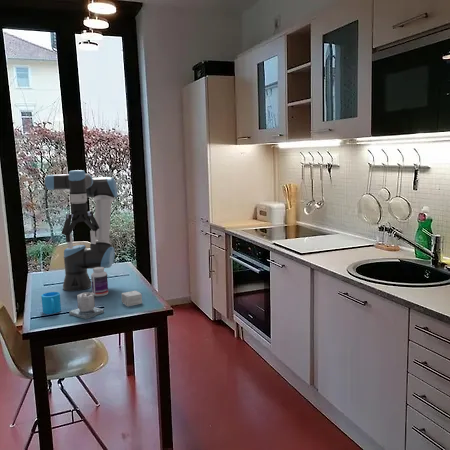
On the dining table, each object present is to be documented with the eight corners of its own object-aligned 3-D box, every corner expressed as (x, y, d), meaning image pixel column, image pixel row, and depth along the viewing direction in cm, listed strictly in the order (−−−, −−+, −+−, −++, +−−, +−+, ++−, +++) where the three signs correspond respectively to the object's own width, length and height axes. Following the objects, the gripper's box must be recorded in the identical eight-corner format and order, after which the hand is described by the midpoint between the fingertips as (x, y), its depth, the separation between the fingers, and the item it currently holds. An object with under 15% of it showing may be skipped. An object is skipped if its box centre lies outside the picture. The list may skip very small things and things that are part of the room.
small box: (136, 299, 228) (136, 290, 227) (142, 303, 221) (141, 293, 221) (121, 302, 224) (121, 292, 223) (127, 307, 217) (126, 296, 216)
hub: (75, 308, 207) (74, 295, 206) (87, 303, 213) (86, 291, 212) (85, 310, 203) (84, 298, 202) (97, 306, 209) (97, 293, 208)
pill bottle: (111, 293, 239) (109, 267, 237) (100, 297, 232) (99, 270, 230) (100, 291, 243) (98, 265, 241) (89, 296, 236) (87, 269, 234)
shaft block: (69, 314, 208) (67, 295, 207) (87, 308, 216) (85, 290, 215) (86, 319, 201) (84, 299, 200) (104, 312, 209) (102, 293, 208)
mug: (41, 310, 216) (40, 293, 214) (59, 307, 219) (58, 290, 218) (44, 317, 205) (43, 300, 204) (63, 314, 209) (62, 297, 208)
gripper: (61, 205, 205) (65, 251, 208) (104, 200, 225) (107, 242, 228) (51, 204, 209) (55, 250, 212) (94, 200, 229) (97, 241, 232)
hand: (82, 246), depth 220 cm, fingers open, 13 cm apart
